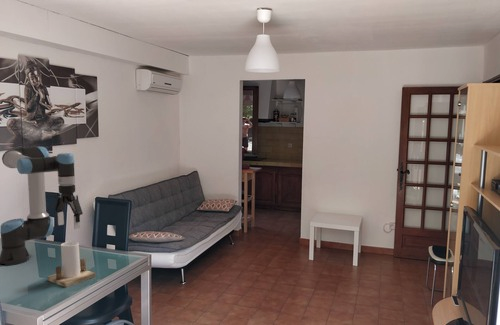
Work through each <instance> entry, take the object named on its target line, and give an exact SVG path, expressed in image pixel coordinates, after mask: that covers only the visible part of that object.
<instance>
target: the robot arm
mask: <svg viewBox="0 0 500 325" xmlns="http://www.w3.org/2000/svg"><path fill="white" fill-rule="evenodd" d="M74 157H75V156H74V153H71V152H69V153H68V152H65V153H63V152H61V153H58V154H57V155H53V156H50V153H49V151H48V149H47V148H46V147H45V146H23V147H22V146H21V147H14V148H10V149H8V150H6V151H5V152H4V153H3V155H2V156H1V161H2V163H3V165H4V166H5V167H7V168H9V169H17V172H18V173H19V174H20V175H27V186H28V187H27V188H28V204H29V205H28V206H29V214H28V215H27V216H26V220H24V219H23V218H14V219H10V220H7V221H4V222H3V223H1V225H0V243H1V245H0V246H1V250H0V263H1V264H5V265H4V266H12V265H11V264H15V265H19V263H20V264H23V263H25V261H26V262H28V261H29V260H30V259H29V258H30V253H29V251H28V249H27V246H26V242H27V241H32V240H37V239H44V238H48V237H50V236H51V235H52V233H53V231H54V219H53V217H52V216H50V214H49V213H48V212H47V203H46V202H47V201H46V200H47V199H46V184H45V173H52V172H57V181H58V193H56V194H57V195H56V200H55V205H54V209H53V210H54V211H56V213H57V225H58V226H63V225H65V219H64V216H65V215H64V208H65V206H66V204H67V205H68V206H69V207H70V210H71V211H72V214H73V229H74V230H78V229H81V222H80V221H81V215H83V214H84V213H83V209H82V207H81V204H80V200H79V195H78V194H76V195H74V193H76V176H75V158H74ZM27 260H28V261H27ZM22 262H23V263H22ZM1 264H0V265H1Z"/></svg>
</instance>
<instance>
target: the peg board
mask: <svg viewBox="0 0 500 325" xmlns="http://www.w3.org/2000/svg"><path fill="white" fill-rule="evenodd" d="M95 277H96V272H93V271H90V270H87V267H86V258H81V259H80V275H78V276H76V277H71V278H65V277H63V275H62V265H61V266H60V265H59V266H56V267H55V274H51V275H47V281H48V282H52V283H54V284H56V285H59V286H61V287H64V288H69V287H72V286H73V285H76V284H80V283H82V282H85V281H88V280H90V279H94V278H95Z"/></svg>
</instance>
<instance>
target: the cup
mask: <svg viewBox="0 0 500 325" xmlns="http://www.w3.org/2000/svg"><path fill="white" fill-rule="evenodd" d="M79 243H80V242H78V241H66V242H63V243H61V244H60V251H61V252H60V253H61V272H62V275H63V277H65V278H71V277H76V276H78V275H80V268H81V263H80V244H79Z"/></svg>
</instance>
